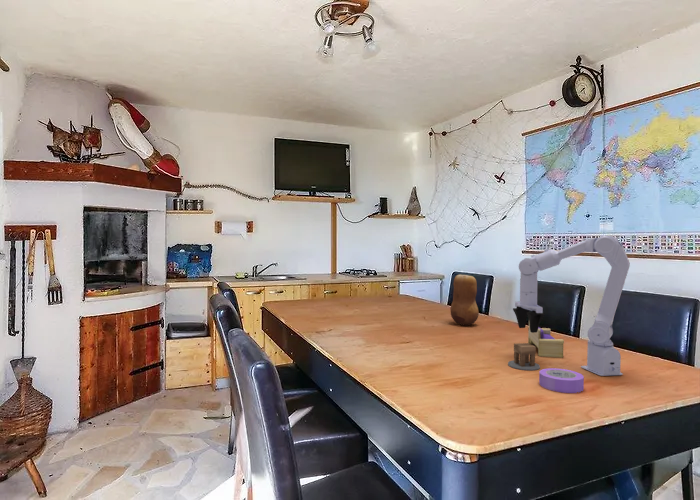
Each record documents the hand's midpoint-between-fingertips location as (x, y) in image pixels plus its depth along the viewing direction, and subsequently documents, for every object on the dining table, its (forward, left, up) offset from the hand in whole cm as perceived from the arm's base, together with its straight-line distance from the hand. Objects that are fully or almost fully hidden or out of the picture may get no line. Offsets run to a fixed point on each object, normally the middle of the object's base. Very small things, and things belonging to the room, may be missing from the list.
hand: (527, 330), depth 157 cm
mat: (-8, +6, -10) cm, 14 cm away
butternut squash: (+62, -3, -11) cm, 63 cm away
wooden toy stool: (-8, +6, -10) cm, 14 cm away
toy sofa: (+11, -14, -11) cm, 21 cm away
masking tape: (-28, +6, -11) cm, 31 cm away
